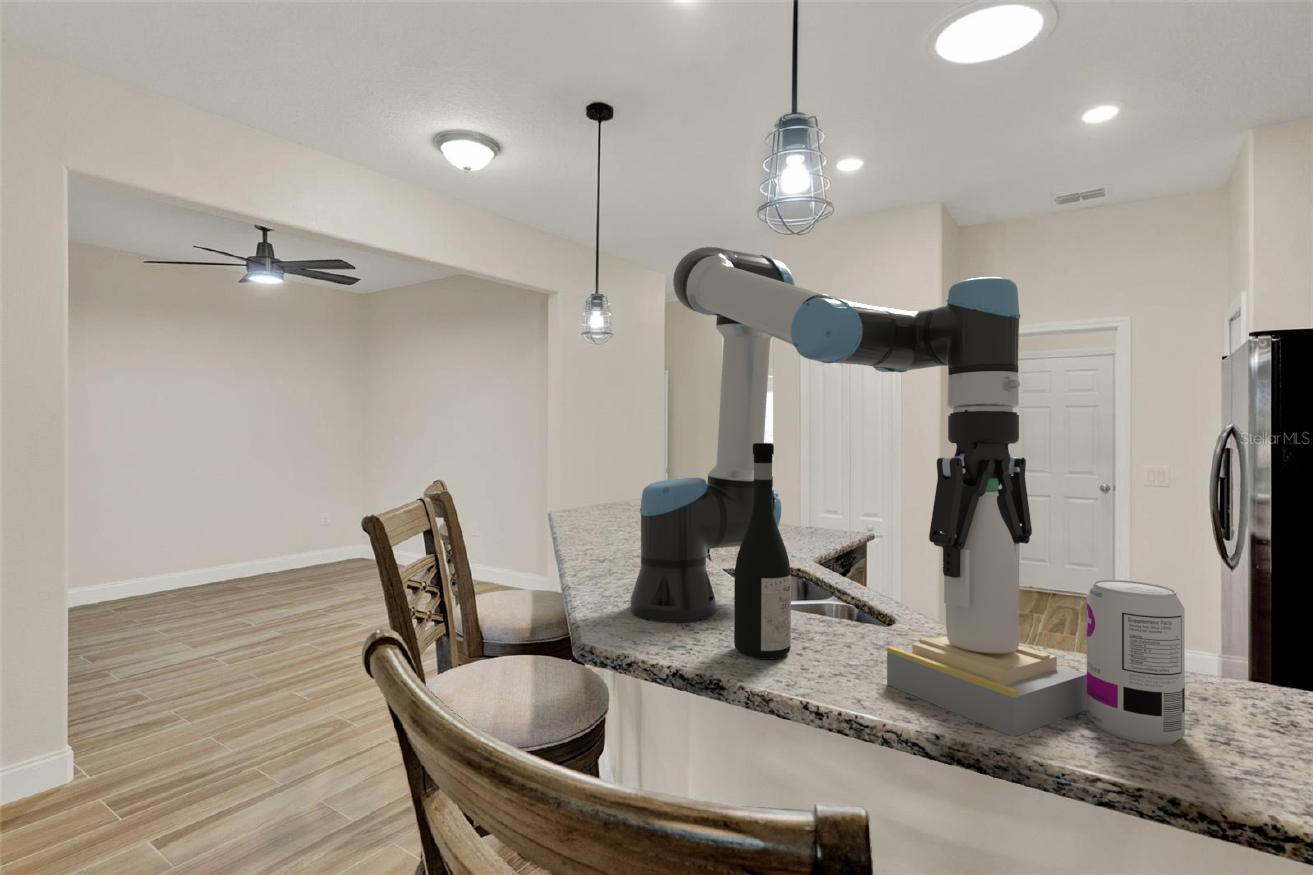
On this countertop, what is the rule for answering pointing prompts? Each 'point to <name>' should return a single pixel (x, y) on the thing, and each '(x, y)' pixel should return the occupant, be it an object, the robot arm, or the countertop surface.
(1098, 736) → the countertop surface
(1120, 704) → the supplement can
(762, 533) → the wine bottle
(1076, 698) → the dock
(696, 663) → the countertop surface
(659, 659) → the countertop surface
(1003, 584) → the milk bottle
